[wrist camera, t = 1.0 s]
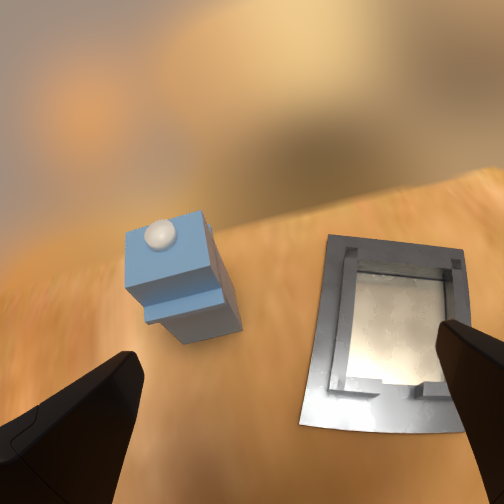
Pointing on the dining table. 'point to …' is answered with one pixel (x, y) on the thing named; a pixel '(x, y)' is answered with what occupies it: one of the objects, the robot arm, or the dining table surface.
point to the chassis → (384, 337)
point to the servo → (181, 278)
